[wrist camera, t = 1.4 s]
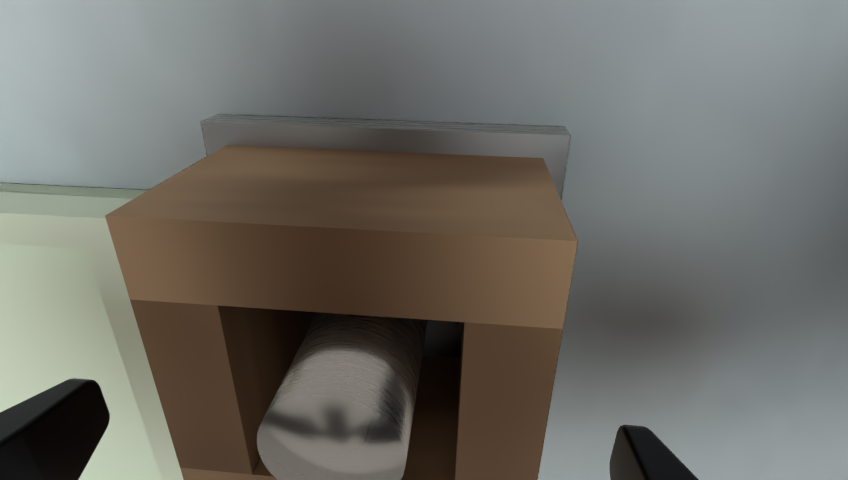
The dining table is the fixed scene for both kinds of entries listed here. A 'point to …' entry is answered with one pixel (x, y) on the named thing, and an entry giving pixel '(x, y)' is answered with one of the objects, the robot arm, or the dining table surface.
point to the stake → (359, 334)
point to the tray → (78, 322)
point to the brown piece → (351, 294)
